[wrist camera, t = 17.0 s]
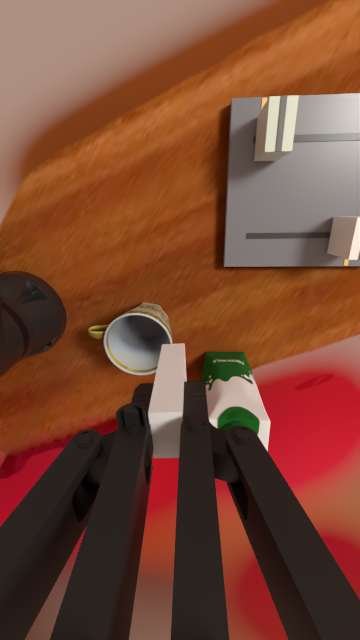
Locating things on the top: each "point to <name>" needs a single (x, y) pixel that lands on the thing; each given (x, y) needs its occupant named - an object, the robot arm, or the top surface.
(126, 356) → the ceramic cup
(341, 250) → the block
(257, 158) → the fader
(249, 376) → the milk carton
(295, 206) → the console
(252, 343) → the top surface
